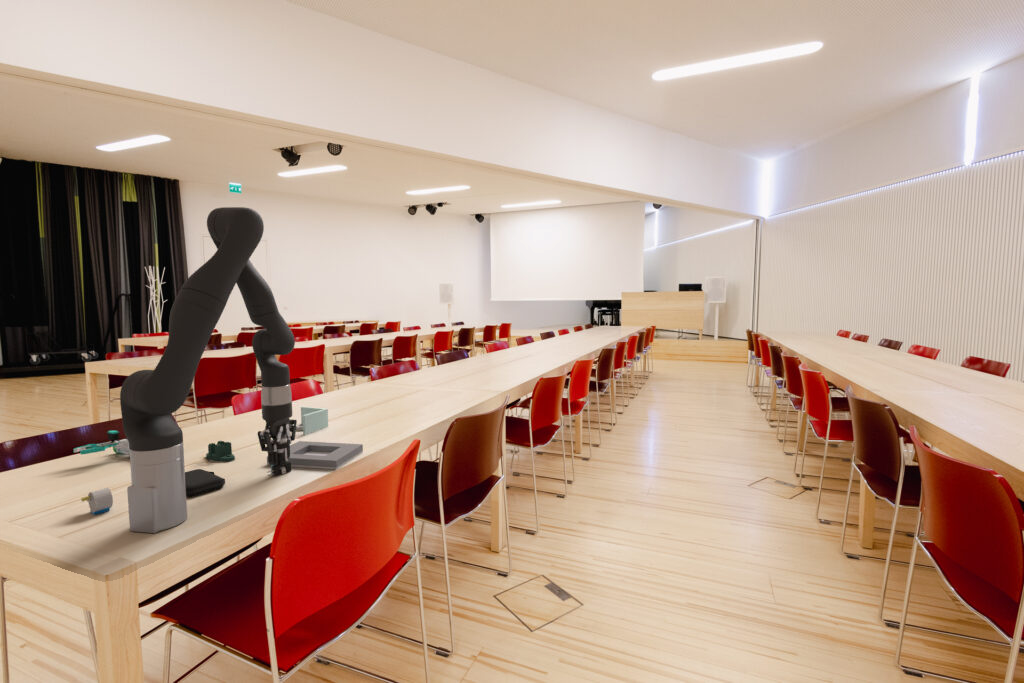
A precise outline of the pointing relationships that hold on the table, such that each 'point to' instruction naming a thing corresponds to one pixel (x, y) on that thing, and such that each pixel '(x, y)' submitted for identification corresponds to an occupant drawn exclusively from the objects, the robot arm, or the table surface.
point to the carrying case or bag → (202, 482)
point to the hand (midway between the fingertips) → (279, 460)
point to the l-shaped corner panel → (312, 419)
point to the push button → (281, 458)
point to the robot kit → (107, 445)
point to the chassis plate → (322, 454)
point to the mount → (220, 452)
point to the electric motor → (99, 501)
